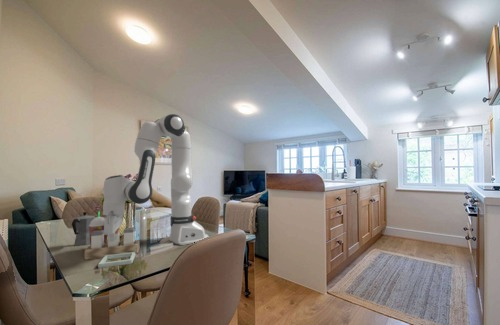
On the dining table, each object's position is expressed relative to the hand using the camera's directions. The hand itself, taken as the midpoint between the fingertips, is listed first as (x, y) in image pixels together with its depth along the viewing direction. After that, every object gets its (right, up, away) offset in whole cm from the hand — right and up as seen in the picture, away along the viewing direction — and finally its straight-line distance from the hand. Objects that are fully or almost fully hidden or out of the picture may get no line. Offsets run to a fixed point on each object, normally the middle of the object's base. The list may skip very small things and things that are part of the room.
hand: (113, 239), depth 107 cm
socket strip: (0, -8, 0) cm, 8 cm away
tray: (+7, -8, -9) cm, 14 cm away
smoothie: (-12, -9, +7) cm, 16 cm away
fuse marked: (0, -7, 0) cm, 7 cm away
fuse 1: (-6, -7, -2) cm, 9 cm away
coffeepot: (-27, -9, +17) cm, 33 cm away
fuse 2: (+6, -7, +2) cm, 9 cm away
